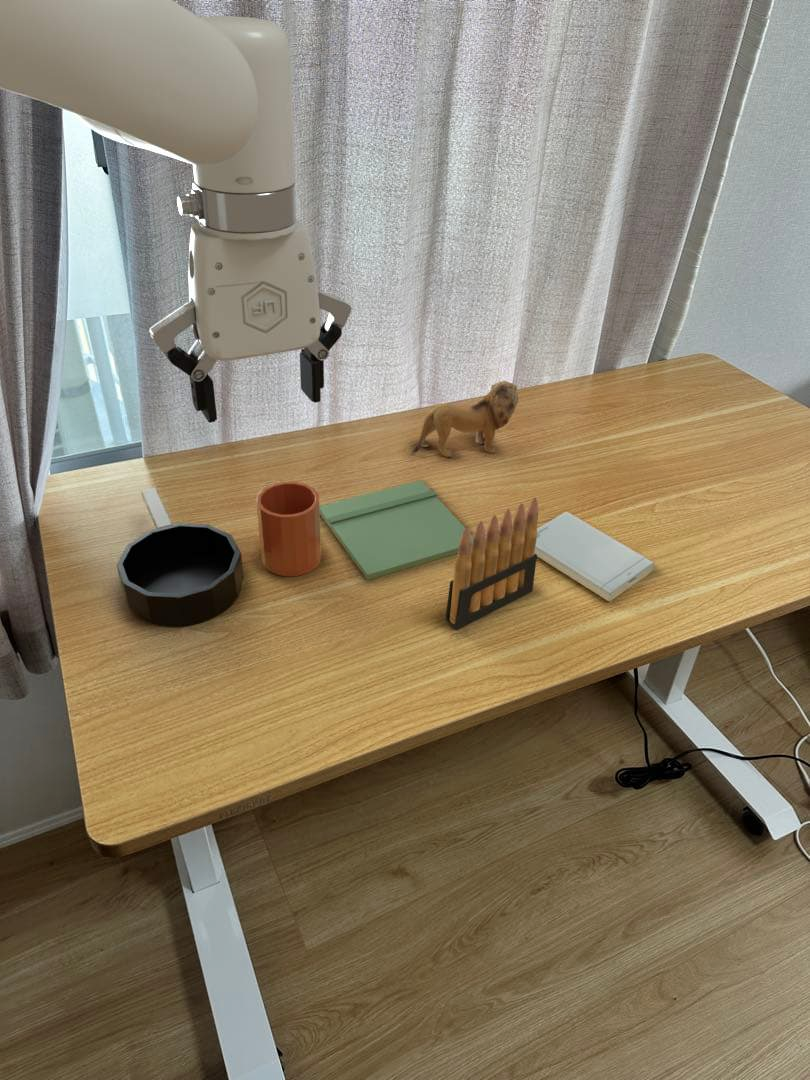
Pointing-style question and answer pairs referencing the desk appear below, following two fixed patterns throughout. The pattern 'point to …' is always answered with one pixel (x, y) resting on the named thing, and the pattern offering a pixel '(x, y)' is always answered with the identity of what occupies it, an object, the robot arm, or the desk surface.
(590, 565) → the hard drive
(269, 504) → the cup
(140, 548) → the pan
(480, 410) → the lion figurine
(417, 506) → the notepad
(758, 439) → the desk surface
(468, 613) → the ammunition clip
